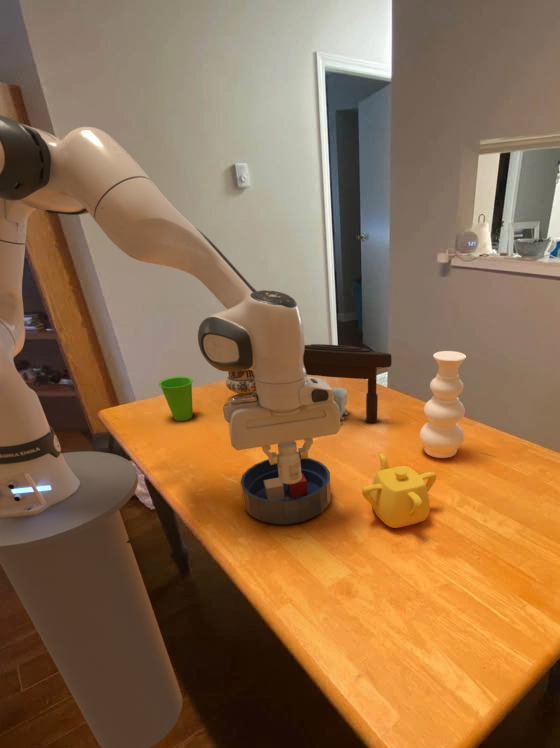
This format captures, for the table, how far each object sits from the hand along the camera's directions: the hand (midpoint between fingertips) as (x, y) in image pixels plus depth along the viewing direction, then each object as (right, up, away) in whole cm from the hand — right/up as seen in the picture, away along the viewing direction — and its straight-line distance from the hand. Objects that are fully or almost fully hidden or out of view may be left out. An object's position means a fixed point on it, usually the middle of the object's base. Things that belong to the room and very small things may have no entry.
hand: (288, 460), depth 88 cm
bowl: (-2, -8, +10) cm, 13 cm away
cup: (-39, +15, +48) cm, 63 cm away
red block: (0, -6, +12) cm, 13 cm away
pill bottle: (0, -4, +2) cm, 4 cm away
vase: (+34, +3, +29) cm, 45 cm away
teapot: (+21, -11, +7) cm, 25 cm away
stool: (+6, +14, +47) cm, 49 cm away
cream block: (-5, -7, +10) cm, 14 cm away
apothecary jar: (-23, +22, +60) cm, 68 cm away
